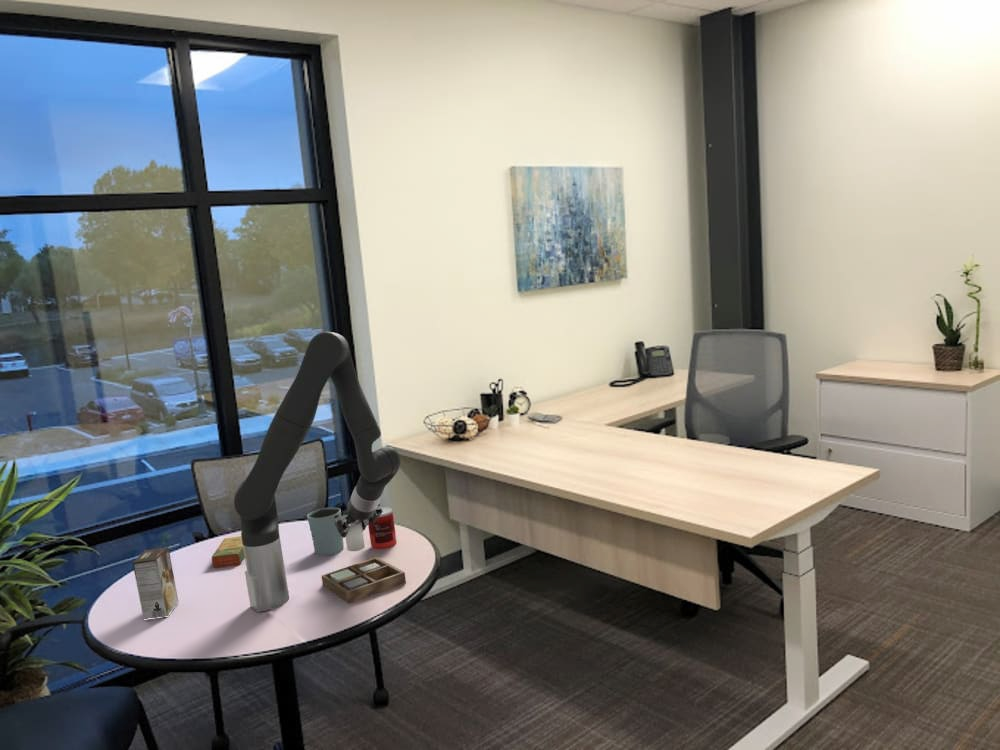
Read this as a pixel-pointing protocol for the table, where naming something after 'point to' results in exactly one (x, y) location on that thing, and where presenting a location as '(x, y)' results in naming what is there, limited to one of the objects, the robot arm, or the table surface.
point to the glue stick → (355, 538)
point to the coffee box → (155, 583)
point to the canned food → (383, 530)
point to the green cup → (325, 531)
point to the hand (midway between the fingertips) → (351, 532)
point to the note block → (342, 575)
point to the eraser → (355, 583)
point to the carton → (229, 553)
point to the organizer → (376, 579)
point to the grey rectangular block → (369, 567)
